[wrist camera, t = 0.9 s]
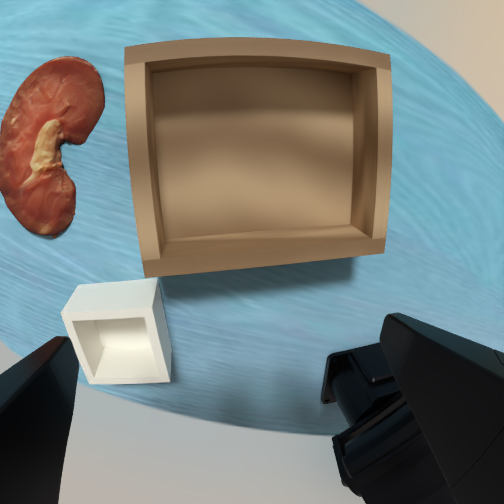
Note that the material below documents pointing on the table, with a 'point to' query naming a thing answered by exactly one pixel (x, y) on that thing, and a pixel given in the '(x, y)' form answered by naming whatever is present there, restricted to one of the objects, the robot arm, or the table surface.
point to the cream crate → (120, 332)
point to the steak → (47, 141)
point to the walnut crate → (257, 152)
